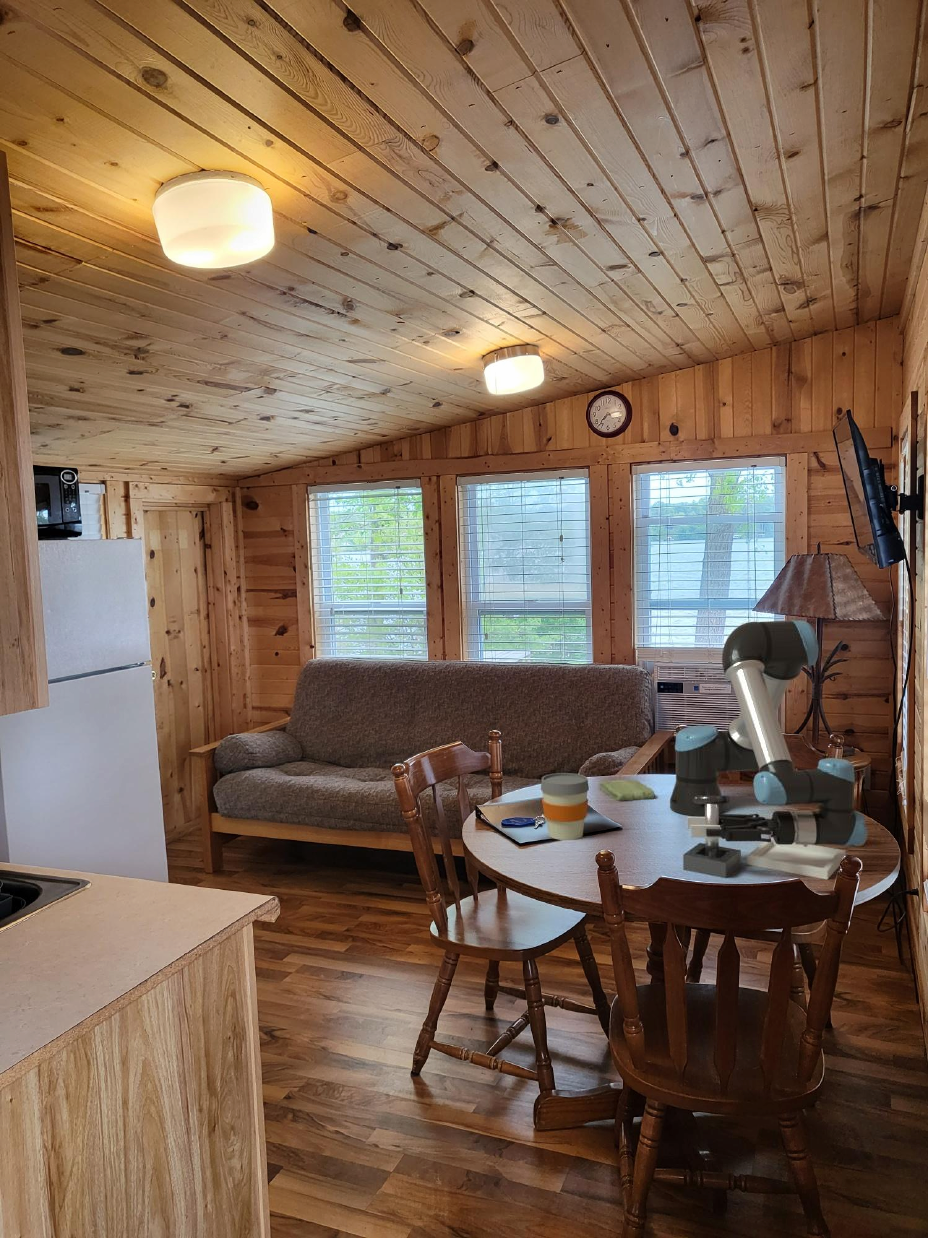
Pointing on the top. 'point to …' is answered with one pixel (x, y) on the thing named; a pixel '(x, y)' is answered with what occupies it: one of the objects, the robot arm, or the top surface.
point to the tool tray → (797, 859)
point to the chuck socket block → (712, 861)
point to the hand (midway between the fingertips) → (689, 827)
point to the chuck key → (711, 820)
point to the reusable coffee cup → (565, 804)
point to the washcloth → (626, 790)
